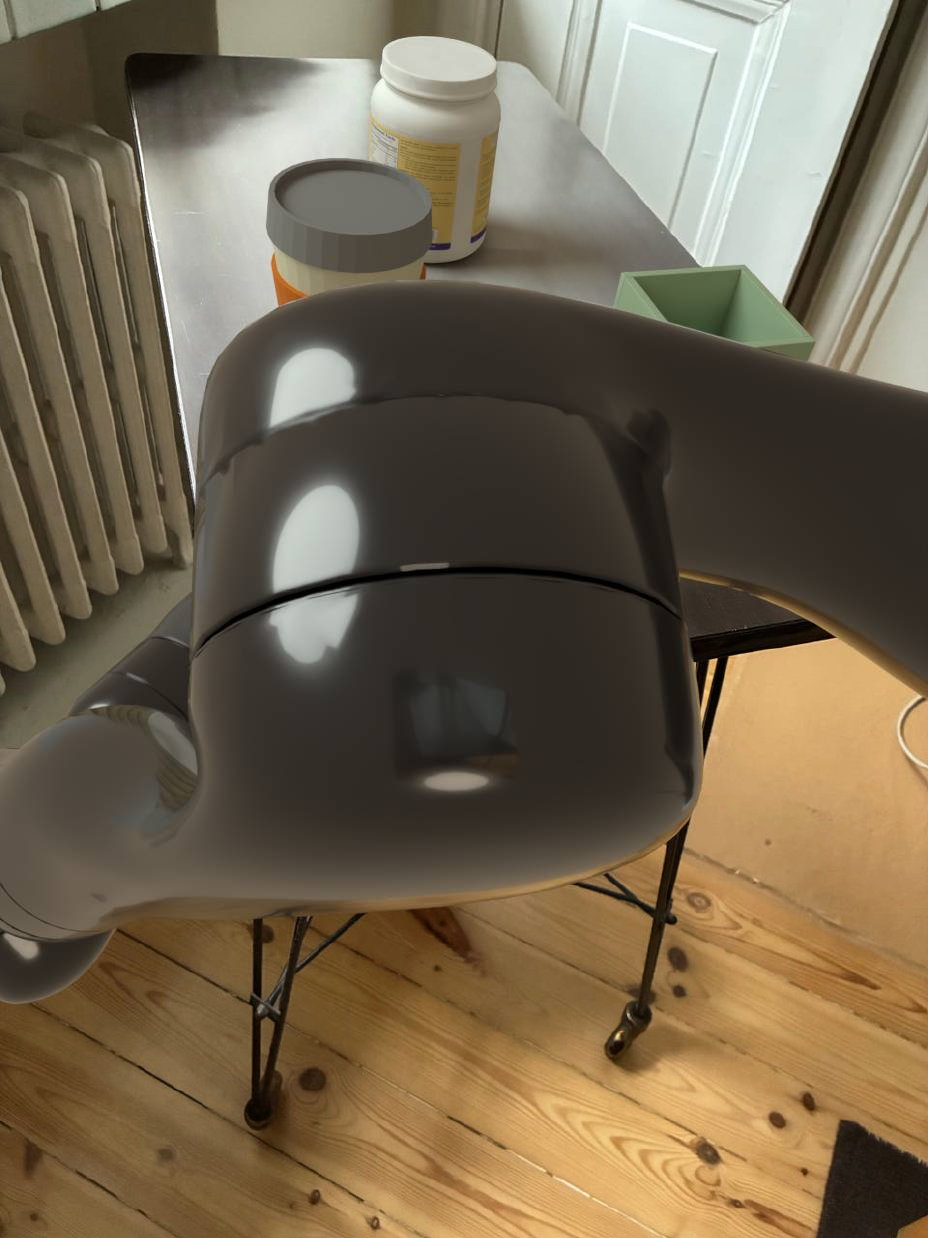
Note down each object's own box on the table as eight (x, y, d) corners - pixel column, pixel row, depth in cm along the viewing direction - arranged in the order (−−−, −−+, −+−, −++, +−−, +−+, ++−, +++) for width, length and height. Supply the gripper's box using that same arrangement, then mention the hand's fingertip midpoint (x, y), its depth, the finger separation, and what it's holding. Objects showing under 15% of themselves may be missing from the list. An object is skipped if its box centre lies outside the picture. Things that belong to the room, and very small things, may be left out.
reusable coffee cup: (428, 413, 81) (445, 240, 70) (272, 411, 79) (264, 233, 67) (413, 327, 89) (426, 160, 78) (271, 324, 87) (264, 152, 76)
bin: (782, 419, 86) (816, 341, 80) (658, 433, 82) (683, 353, 77) (718, 340, 93) (744, 263, 87) (601, 350, 90) (621, 272, 84)
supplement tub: (435, 198, 106) (451, 24, 93) (509, 249, 100) (536, 71, 88) (341, 223, 100) (344, 41, 88) (414, 279, 94) (428, 93, 82)
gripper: (368, 652, 47) (532, 470, 57) (137, 525, 51) (329, 376, 61) (363, 741, 52) (514, 561, 62) (155, 621, 56) (328, 470, 66)
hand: (422, 470), depth 62 cm, fingers closed on ink cartridge box, 6 cm apart
